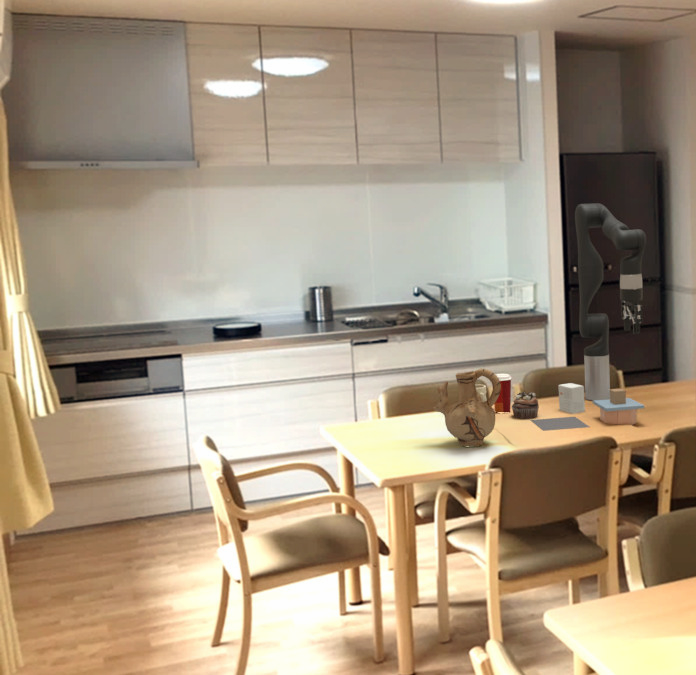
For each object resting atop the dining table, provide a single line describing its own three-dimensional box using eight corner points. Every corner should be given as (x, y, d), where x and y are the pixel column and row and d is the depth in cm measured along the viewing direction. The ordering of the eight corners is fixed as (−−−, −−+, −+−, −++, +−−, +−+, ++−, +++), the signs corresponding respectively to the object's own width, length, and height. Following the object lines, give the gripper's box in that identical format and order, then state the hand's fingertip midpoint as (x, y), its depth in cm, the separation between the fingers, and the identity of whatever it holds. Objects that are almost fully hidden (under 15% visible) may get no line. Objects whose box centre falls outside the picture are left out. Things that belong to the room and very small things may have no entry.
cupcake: (541, 416, 310) (540, 389, 308) (536, 422, 301) (534, 395, 300) (515, 415, 314) (514, 388, 312) (509, 421, 305) (508, 394, 304)
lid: (592, 403, 298) (592, 387, 298) (629, 400, 299) (629, 385, 298) (606, 411, 286) (605, 395, 285) (644, 408, 286) (644, 392, 286)
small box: (585, 414, 309) (584, 385, 307) (572, 416, 307) (571, 387, 305) (571, 410, 316) (570, 382, 315) (559, 412, 314) (558, 384, 313)
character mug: (493, 423, 304) (492, 387, 303) (475, 425, 302) (474, 389, 301) (479, 417, 315) (478, 382, 313) (462, 419, 313) (460, 385, 311)
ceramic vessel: (479, 434, 290) (475, 361, 287) (513, 445, 273) (510, 368, 270) (433, 443, 283) (429, 368, 279) (466, 455, 265) (461, 376, 262)
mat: (530, 422, 301) (530, 420, 301) (574, 419, 302) (574, 416, 302) (543, 433, 286) (543, 430, 285) (590, 429, 286) (590, 426, 286)
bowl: (597, 420, 298) (596, 403, 297) (628, 418, 299) (627, 401, 298) (608, 427, 287) (608, 410, 286) (640, 425, 288) (640, 407, 287)
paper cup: (512, 409, 324) (510, 372, 323) (514, 413, 317) (512, 376, 315) (491, 410, 325) (489, 373, 323) (492, 414, 318) (491, 377, 316)
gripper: (613, 285, 308) (614, 330, 310) (628, 289, 294) (629, 336, 296) (633, 284, 308) (634, 328, 311) (649, 287, 294) (650, 334, 297)
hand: (632, 332), depth 303 cm, fingers open, 8 cm apart
